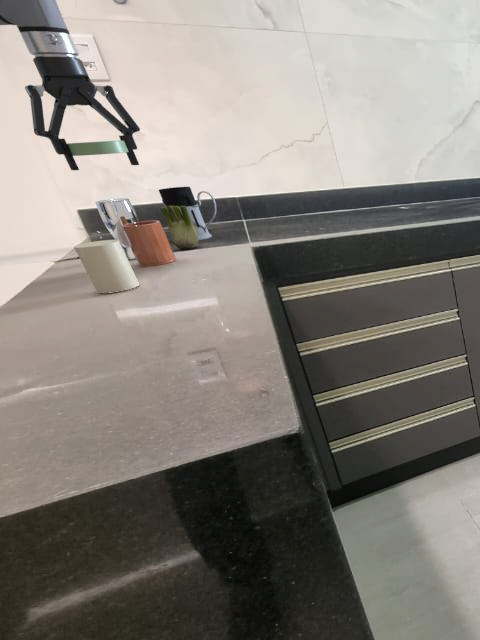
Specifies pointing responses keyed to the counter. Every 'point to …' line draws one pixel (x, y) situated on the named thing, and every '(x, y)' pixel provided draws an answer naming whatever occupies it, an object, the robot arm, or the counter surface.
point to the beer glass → (118, 220)
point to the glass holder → (188, 207)
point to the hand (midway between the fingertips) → (106, 167)
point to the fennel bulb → (180, 227)
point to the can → (107, 266)
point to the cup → (149, 243)
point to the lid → (97, 148)
